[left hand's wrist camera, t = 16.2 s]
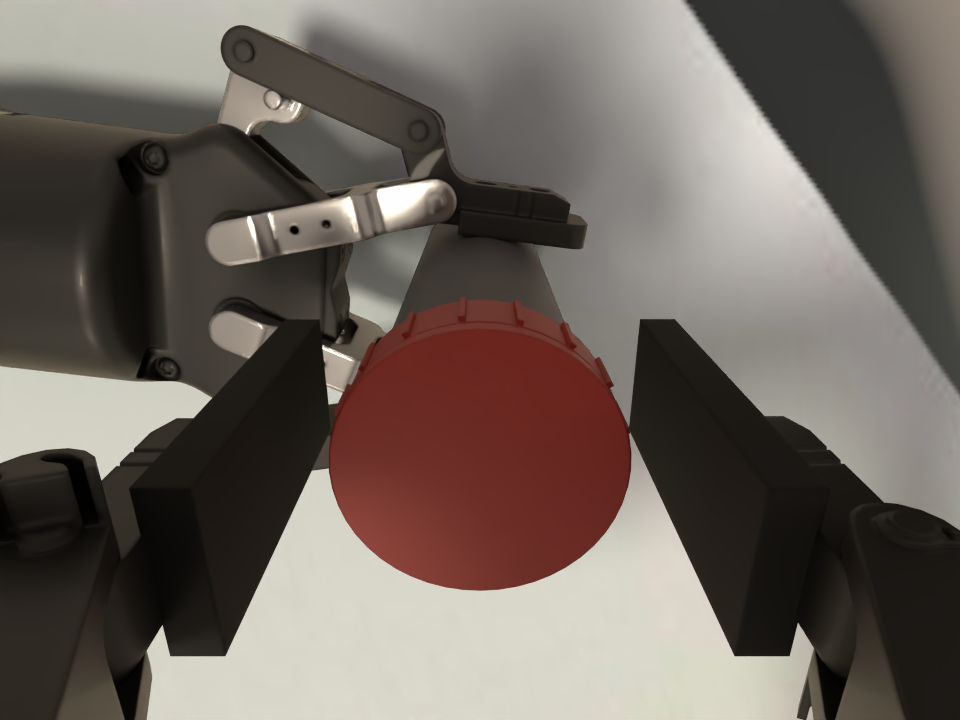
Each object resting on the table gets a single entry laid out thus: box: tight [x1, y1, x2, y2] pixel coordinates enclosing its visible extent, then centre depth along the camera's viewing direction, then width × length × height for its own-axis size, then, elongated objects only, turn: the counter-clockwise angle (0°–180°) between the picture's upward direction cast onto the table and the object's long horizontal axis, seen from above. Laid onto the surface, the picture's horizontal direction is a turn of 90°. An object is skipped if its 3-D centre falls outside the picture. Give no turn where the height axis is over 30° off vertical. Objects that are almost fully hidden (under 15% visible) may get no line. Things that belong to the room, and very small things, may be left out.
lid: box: [328, 297, 631, 591], centre depth 11 cm, size 5×5×2 cm
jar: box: [393, 223, 564, 328], centre depth 18 cm, size 4×4×16 cm
